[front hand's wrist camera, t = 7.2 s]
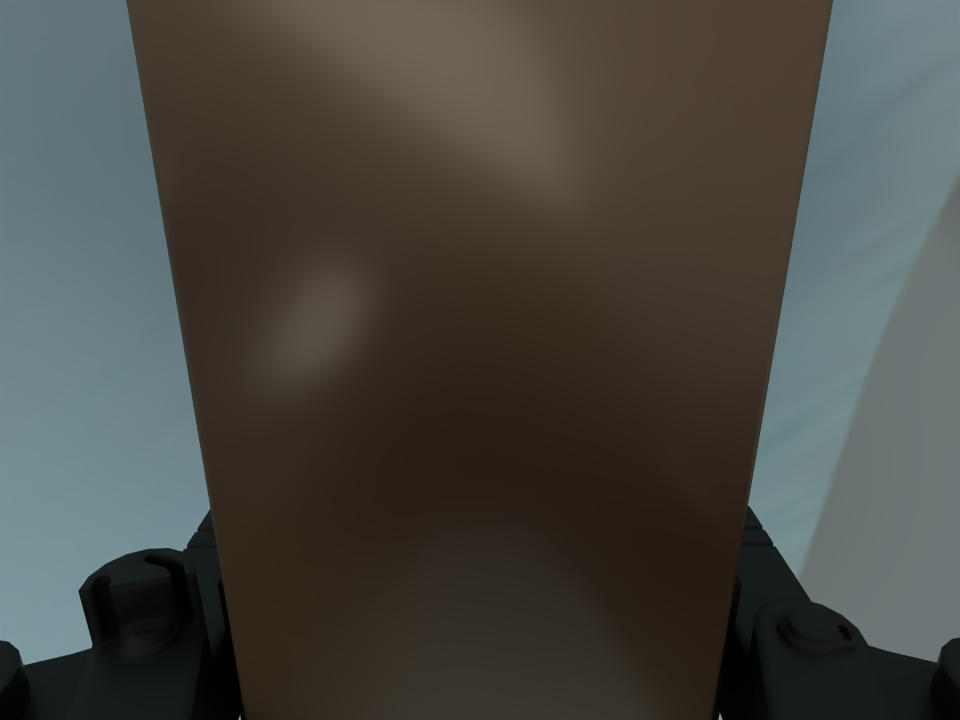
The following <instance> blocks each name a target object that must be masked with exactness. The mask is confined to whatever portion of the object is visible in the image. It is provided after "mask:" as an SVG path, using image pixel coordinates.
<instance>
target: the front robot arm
mask: <svg viewBox="0 0 960 720" xmlns="http://www.w3.org/2000/svg"><path fill="white" fill-rule="evenodd" d="M79 595H80V599H81V602H82V606H83V610H84V614H85V617H86V621H87V625H88V629H89V632H90V636H91V640H92V643H93V645H92V648H90V649H87V650H84V651H81V652H77V653H74V654H70V655H66V656H62V657H57V658H53V659H49V660H44V661H40V662H36V663H31V664H27V665H23V663H22V659H21V656H20V653H19V650H18V649H16V648H15V647H14V646H13V645H12V644H10V643H9V642H7V641H0V720H238V719H239V716H241V720H245V714H244V708H243V702H242V695H241V689H240V683H239V677H238V671H237V665H236V659H235V653H234V647H233V641H232V635H231V629H230V623H229V617H228V611H227V605H226V599H225V593H224V587H223V581H222V574H221V568H220V562H219V556H218V550H217V544H216V538H215V532H214V526H213V520H212V514H211V509H210V510H209V512H208V513H207V515H206V516H205V518H204V519H203V521H202V523H201V524H200V526H199V527H198V532H195V533H194V535H193V536H192V538H191V540H190V541H189V543H188V544H187V549H184V550H183V552H182V551H178V550H174V549H170V548H159V549H146V550H142V551H138V552H134V553H130V554H126V555H124V556H122V557H120V558H117V559H115V560H113V561H111V562H109V563H107V564H105V565H104V566H102V567H101V568H100V569H98V570H97V571H96V572H94V573H93V574H92V575H90V576H89V577H88V578H87V580H86V581H85V582H84V584H83V585H82V587H81V588H80V589H79ZM719 714H721V717H722V719H723V720H960V638H955V639H951V640H950V641H949V642H948V643H947V644H945V645H944V646H943V647H942V648H941V652H940V655H939V658H938V661H937V663H936V662H932V661H927V660H923V659H919V658H914V657H910V656H906V655H901V654H897V653H893V652H889V651H885V650H882V649H878V648H875V647H872V646H869V645H868V644H867V642H866V641H865V639H864V638H863V636H862V634H861V633H860V631H859V630H858V628H857V627H855V626H854V625H853V624H852V623H851V622H850V621H848V620H847V619H846V618H845V617H844V616H842V615H841V614H839V613H837V612H835V611H833V610H831V609H829V608H827V607H825V606H823V605H821V604H818V603H814V602H811V600H810V599H809V597H808V595H807V594H806V592H805V591H804V589H803V588H802V586H801V585H800V583H799V582H798V580H797V579H796V577H795V576H794V574H793V572H792V571H791V569H790V568H789V566H788V565H787V563H786V562H785V560H784V559H783V557H782V556H781V554H780V553H779V551H778V549H777V548H776V547H773V542H772V540H771V539H770V537H769V536H768V534H767V533H766V531H765V530H763V529H762V525H761V523H760V522H759V520H758V519H757V517H756V516H755V514H754V513H753V511H752V510H751V508H750V507H749V506H748V507H747V513H746V519H745V525H744V531H743V536H742V542H741V548H740V554H739V560H738V566H737V572H736V578H735V584H734V590H733V596H732V602H731V608H730V614H729V619H728V625H727V631H726V637H725V643H724V649H723V655H722V661H721V667H720V673H719V679H718V685H717V691H716V697H715V702H714V708H713V714H712V720H718V719H719Z"/></svg>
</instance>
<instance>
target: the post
mask: <svg viewBox="0 0 960 720" xmlns="http://www.w3.org/2000/svg"><path fill="white" fill-rule="evenodd" d="M832 3H833V0H127V6H128V12H129V18H130V24H131V30H132V36H133V42H134V48H135V54H136V60H137V66H138V72H139V78H140V84H141V90H142V97H143V103H144V109H145V115H146V121H147V127H148V133H149V139H150V145H151V151H152V157H153V163H154V169H155V175H156V181H157V187H158V193H159V199H160V205H161V211H162V218H163V224H164V230H165V236H166V242H167V248H168V254H169V260H170V266H171V272H172V278H173V284H174V290H175V296H176V302H177V308H178V314H179V320H180V326H181V332H182V339H183V345H184V351H185V357H186V363H187V369H188V375H189V381H190V387H191V393H192V399H193V405H194V411H195V417H196V423H197V429H198V435H199V441H200V447H201V453H202V460H203V466H204V472H205V478H206V484H207V490H208V496H209V502H210V508H211V514H212V520H213V526H214V532H215V538H216V544H217V550H218V556H219V562H220V568H221V574H222V581H223V587H224V593H225V599H226V605H227V611H228V617H229V623H230V629H231V635H232V641H233V647H234V653H235V659H236V665H237V671H238V677H239V683H240V689H241V695H242V702H243V708H244V714H245V720H712V714H713V708H714V702H715V697H716V691H717V685H718V679H719V673H720V667H721V661H722V655H723V649H724V643H725V637H726V631H727V625H728V619H729V614H730V608H731V602H732V596H733V590H734V584H735V578H736V572H737V566H738V560H739V554H740V548H741V542H742V536H743V531H744V525H745V519H746V513H747V507H748V501H749V495H750V489H751V483H752V477H753V471H754V465H755V459H756V454H757V448H758V442H759V436H760V430H761V424H762V418H763V412H764V406H765V400H766V394H767V388H768V382H769V376H770V371H771V365H772V359H773V353H774V347H775V341H776V335H777V329H778V323H779V317H780V311H781V305H782V299H783V293H784V288H785V282H786V276H787V270H788V264H789V258H790V252H791V246H792V240H793V234H794V228H795V222H796V216H797V211H798V205H799V199H800V193H801V187H802V181H803V175H804V169H805V163H806V157H807V151H808V145H809V139H810V133H811V128H812V122H813V116H814V110H815V104H816V98H817V92H818V86H819V80H820V74H821V68H822V62H823V56H824V51H825V45H826V39H827V33H828V27H829V21H830V15H831V9H832Z"/></svg>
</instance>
